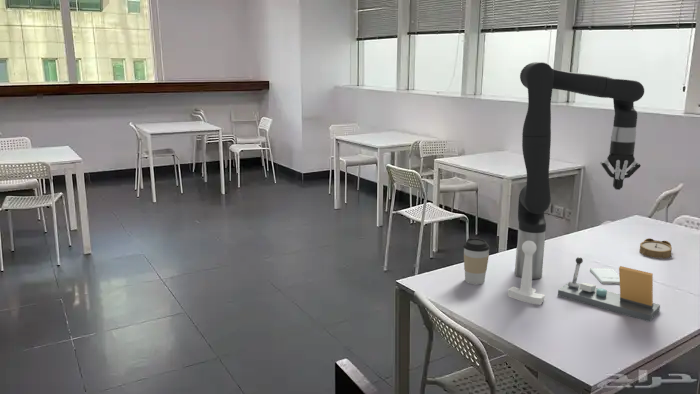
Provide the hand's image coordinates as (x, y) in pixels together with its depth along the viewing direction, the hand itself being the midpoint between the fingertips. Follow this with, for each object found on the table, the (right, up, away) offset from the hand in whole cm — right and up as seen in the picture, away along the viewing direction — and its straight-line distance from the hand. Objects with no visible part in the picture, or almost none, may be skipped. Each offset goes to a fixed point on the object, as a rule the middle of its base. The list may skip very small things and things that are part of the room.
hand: (617, 189), depth 193 cm
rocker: (-16, -33, -12) cm, 39 cm away
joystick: (-35, -36, -11) cm, 52 cm away
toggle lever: (-19, -32, -9) cm, 38 cm away
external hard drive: (-1, -32, +6) cm, 33 cm away
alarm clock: (+31, -26, +31) cm, 51 cm away
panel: (-11, -37, -16) cm, 41 cm away
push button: (-12, -34, -15) cm, 39 cm away
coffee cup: (-49, -33, +3) cm, 59 cm away
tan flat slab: (-5, -35, -22) cm, 42 cm away
